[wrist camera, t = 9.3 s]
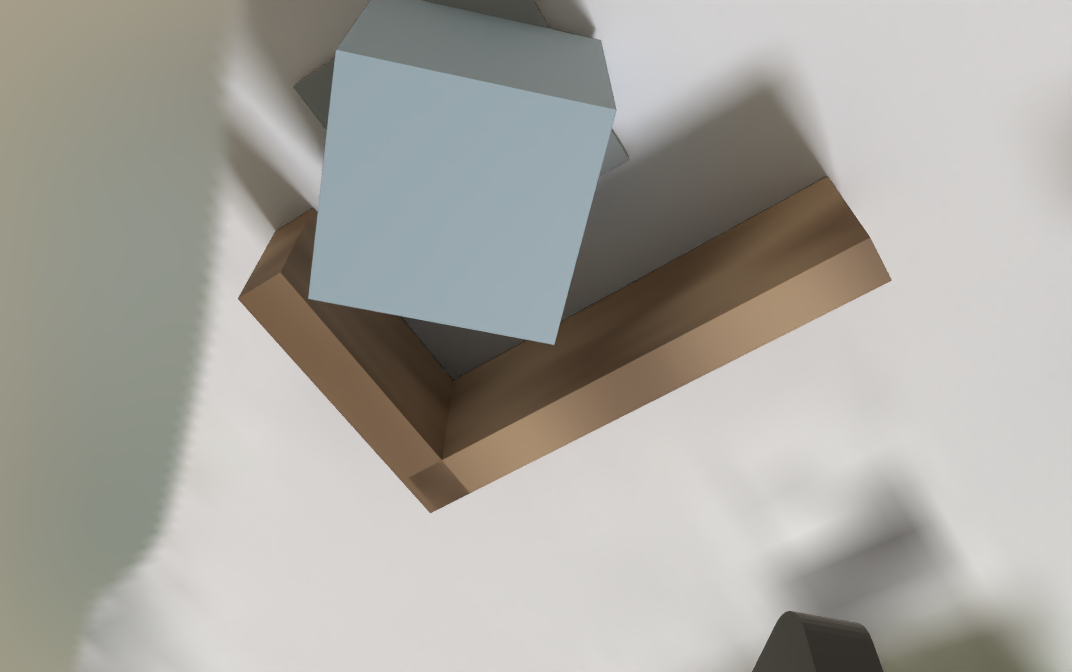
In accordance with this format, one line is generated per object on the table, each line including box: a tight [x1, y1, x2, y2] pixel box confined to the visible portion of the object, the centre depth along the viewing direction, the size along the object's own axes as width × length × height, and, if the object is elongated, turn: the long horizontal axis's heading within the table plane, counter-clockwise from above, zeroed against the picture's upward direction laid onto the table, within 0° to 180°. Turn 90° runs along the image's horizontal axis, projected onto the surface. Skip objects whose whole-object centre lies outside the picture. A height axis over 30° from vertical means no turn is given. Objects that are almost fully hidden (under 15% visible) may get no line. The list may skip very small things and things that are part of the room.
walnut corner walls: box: [238, 176, 892, 513], centre depth 23 cm, size 12×7×4 cm, turn 122°
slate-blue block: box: [308, 0, 616, 345], centre depth 21 cm, size 5×5×5 cm
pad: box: [294, 0, 629, 177], centre depth 23 cm, size 6×6×1 cm
